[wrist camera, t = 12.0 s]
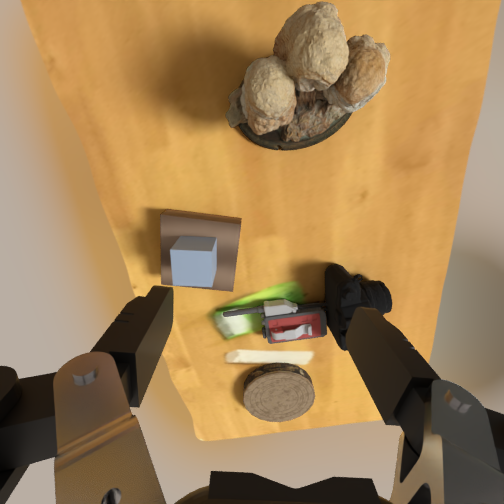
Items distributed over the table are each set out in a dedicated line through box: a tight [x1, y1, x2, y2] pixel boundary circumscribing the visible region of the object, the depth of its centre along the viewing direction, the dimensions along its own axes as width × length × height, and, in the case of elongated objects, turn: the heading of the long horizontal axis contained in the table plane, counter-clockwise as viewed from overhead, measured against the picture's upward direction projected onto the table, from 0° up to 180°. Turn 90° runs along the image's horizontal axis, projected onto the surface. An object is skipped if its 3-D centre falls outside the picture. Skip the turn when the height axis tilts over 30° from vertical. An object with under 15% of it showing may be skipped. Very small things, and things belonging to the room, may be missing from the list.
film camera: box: [325, 264, 392, 351], centre depth 42 cm, size 15×10×9 cm, turn 8°
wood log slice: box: [243, 363, 315, 422], centre depth 55 cm, size 16×16×3 cm
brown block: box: [160, 209, 241, 292], centre depth 40 cm, size 12×12×4 cm
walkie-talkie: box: [223, 299, 328, 344], centre depth 46 cm, size 9×4×20 cm
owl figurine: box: [226, 2, 390, 151], centre depth 26 cm, size 18×12×17 cm, turn 104°
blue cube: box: [170, 236, 217, 287], centre depth 36 cm, size 6×6×6 cm
